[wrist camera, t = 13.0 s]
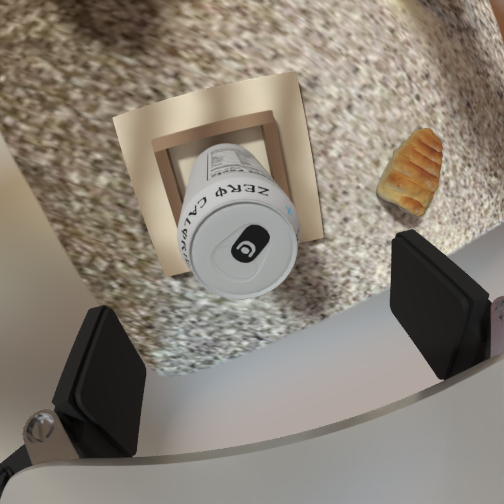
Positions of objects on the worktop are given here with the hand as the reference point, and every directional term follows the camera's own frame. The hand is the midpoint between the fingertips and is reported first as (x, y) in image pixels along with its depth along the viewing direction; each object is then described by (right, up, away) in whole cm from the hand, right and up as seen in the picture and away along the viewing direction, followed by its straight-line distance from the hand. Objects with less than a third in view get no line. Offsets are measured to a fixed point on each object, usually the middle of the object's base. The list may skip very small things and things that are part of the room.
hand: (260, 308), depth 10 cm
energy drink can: (-3, +8, +17) cm, 20 cm away
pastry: (+16, +10, +21) cm, 28 cm away
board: (-3, +9, +18) cm, 21 cm away
